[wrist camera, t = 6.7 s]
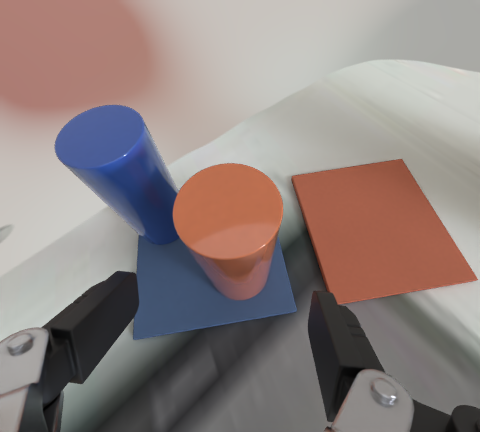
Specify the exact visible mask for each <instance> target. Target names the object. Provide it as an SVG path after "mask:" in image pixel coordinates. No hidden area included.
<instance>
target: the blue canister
mask: <svg viewBox="0 0 480 432" xmlns="http://www.w3.org/2000/svg"><path fill="white" fill-rule="evenodd" d="M55 152H56V155H57V157H58V159H59V160H60V161H61V162H62V163H63V164H64V165H65V166H66V167H68V168H69V169H70V170H71V171H72V172H73V173H74V174H75V175H76V176H77V177H78V178H79V179H80V180H81V181H82V182H84V183H85V184H86V185H87V186H88V187H89V188H90V189H91V190H92V191H93V192H94V193H95V194H96V195H97V196H98V197H100V198H101V199H102V200H103V201H104V202H105V203H106V204H107V205H108V206H109V207H110V208H111V209H112V210H114V211H115V212H116V213H117V214H118V215H119V216H120V217H121V218H122V219H123V220H124V221H125V222H126V223H127V224H129V225H130V226H131V227H132V228H133V229H134V230H135V231H136V232H137V233H138V234H139V235H140V236H141V237H142V238H144V239H145V240H146V241H147V242H149V243H152V244H156V245H163V244H168V243H171V242H173V241H175V240H177V239H178V238H179V235H178V234H177V231H176V229H175V226H174V222H173V207H174V202H175V199H176V196H177V194H178V193H179V191H178V189H177V187H176V185H175V183H174V181H173V179H172V177H171V175H170V173H169V171H168V169H167V167H166V165H165V163H164V161H163V159H162V157H161V155H160V153H159V151H158V149H157V147H156V145H155V143H154V140H153V139H152V137H151V135H150V132H149V131H148V128H147V127H146V125H145V122H144V120H143V118H142V117H141V115H140V114H139V113H138V112H136V111H135V110H134V109H132V108H129V107H126V106H122V105H105V106H99V107H96V108H92V109H90V110H87V111H85V112H83V113H81V114H79V115H77V116H76V117H74V118H73V119H72V120H70V121H69V122H68V123H67V124H66V125H65V126H64V127H63V128H62V130H61V131H60V133H59V134H58V136H57V138H56V141H55Z"/></svg>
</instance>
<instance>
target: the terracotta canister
mask: <svg viewBox="0 0 480 432" xmlns="http://www.w3.org/2000/svg"><path fill="white" fill-rule="evenodd" d="M282 216H283V203H282V198H281V195H280V192H279V191H278V189H277V187H276V185H275V184H274V183H273V181H272V180H271V179H270V178H269V177H268V176H266V175H265V174H264V173H262V172H261V171H259V170H257V169H255V168H253V167H250V166H247V165H242V164H235V163H227V164H219V165H214V166H211V167H208V168H206V169H203V170H201V171H200V172H198V173H196V174H195V175H194V176H192V177H191V178H190V179H189V180H188V181H187V182H186V183H185V184H184V185H183V186H182V188H181V189H180V191H179V193H178V194H177V196H176V199H175V202H174V207H173V222H174V226H175V229H176V231H177V234H178V235H179V237H180V239H181V240H182V241H183V243H184V244H185V246H186V247H187V249H188V250H189V251H190V253H191V254H192V256H193V257H194V258H195V260H196V261H197V263H198V264H199V265H200V267H201V268H202V270H203V271H204V272H205V274H206V275H207V277H208V278H209V279H210V281H211V282H212V284H213V285H214V286H215V288H216V289H217V290H218V292H219V293H221V294H222V295H223V296H225V297H227V298H229V299H232V300H246V299H249V298H252V297H254V296H255V295H257V294H258V293H259V292H260V291H261V290H262V289H263V288H264V286H265V284H266V282H267V279H268V275H269V271H270V266H271V262H272V258H273V254H274V250H275V246H276V242H277V237H278V233H279V229H280V225H281V221H282Z"/></svg>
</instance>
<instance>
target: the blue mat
mask: <svg viewBox="0 0 480 432" xmlns="http://www.w3.org/2000/svg"><path fill="white" fill-rule="evenodd" d="M136 276H137V284H138V294H139V307H138V311H137V313H136V315H135V316H134V330H133V340H138V339H143V338H149V337H155V336H161V335H166V334H172V333H178V332H184V331H189V330H195V329H201V328H207V327H212V326H218V325H224V324H230V323H235V322H241V321H247V320H253V319H258V318H264V317H270V316H276V315H282V314H287V313H293V312H296V311H297V309H296V305H295V301H294V297H293V294H292V290H291V286H290V282H289V278H288V274H287V270H286V266H285V262H284V258H283V254H282V250H281V246H280V242H279V238H278V237H277V242H276V246H275V250H274V254H273V258H272V262H271V266H270V271H269V275H268V279H267V282H266V284H265V286H264V288H263V289H262V290H261V291H260V292H259V293H258V294H257V295H255V296H254V297H252V298H249V299H246V300H232V299H229V298H227V297H225V296H223V295H222V294H221V293H219V292H218V290H217V289H216V288H215V286H214V285H213V284H212V282H211V281H210V279H209V278H208V277H207V275H206V274H205V272H204V271H203V270H202V268H201V267H200V265H199V264H198V263H197V261H196V260H195V258H194V257H193V256H192V254H191V253H190V251H189V250H188V249H187V247H186V246H185V244H184V243H183V241H182V240H181V239H180V237H179V238H178V239H177V240H175V241H173V242H171V243H168V244H163V245H156V244H152V243H149V242H147V241H146V240H145V239H144V238H142V237H141V236H140V235H139V239H138V257H137V275H136Z"/></svg>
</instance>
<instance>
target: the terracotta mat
mask: <svg viewBox="0 0 480 432" xmlns="http://www.w3.org/2000/svg"><path fill="white" fill-rule="evenodd" d="M291 180H292V183H293V186H294V189H295V192H296V195H297V198H298V201H299V204H300V208H301V211H302V214H303V217H304V220H305V223H306V226H307V229H308V232H309V236H310V239H311V242H312V245H313V248H314V251H315V254H316V257H317V260H318V263H319V267H320V270H321V273H322V276H323V279H324V282H325V285H326V288H327V291H328V292H332V293H333V294H334V297H335V299H336V301H337V303H338V305H339V304H345V303H351V302H356V301H362V300H368V299H374V298H379V297H385V296H391V295H397V294H402V293H408V292H414V291H420V290H425V289H431V288H437V287H443V286H449V285H454V284H460V283H466V282H472V281H476V280H478V279H477V277H476V276H475V274H474V272H473V271H472V269H471V268H470V266H469V265H468V263H467V261H466V260H465V258H464V257H463V255H462V253H461V252H460V250H459V249H458V247H457V246H456V244H455V242H454V241H453V239H452V238H451V236H450V235H449V233H448V231H447V230H446V228H445V227H444V225H443V223H442V222H441V220H440V219H439V217H438V216H437V214H436V212H435V211H434V209H433V208H432V206H431V204H430V203H429V201H428V200H427V198H426V197H425V195H424V193H423V192H422V190H421V189H420V187H419V185H418V184H417V182H416V181H415V179H414V178H413V176H412V174H411V173H410V171H409V170H408V168H407V166H406V165H405V163H404V162H403V160H402V159H398V160H392V161H385V162H379V163H372V164H366V165H359V166H353V167H347V168H340V169H334V170H327V171H321V172H314V173H308V174H302V175H295V176H292V179H291Z"/></svg>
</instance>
